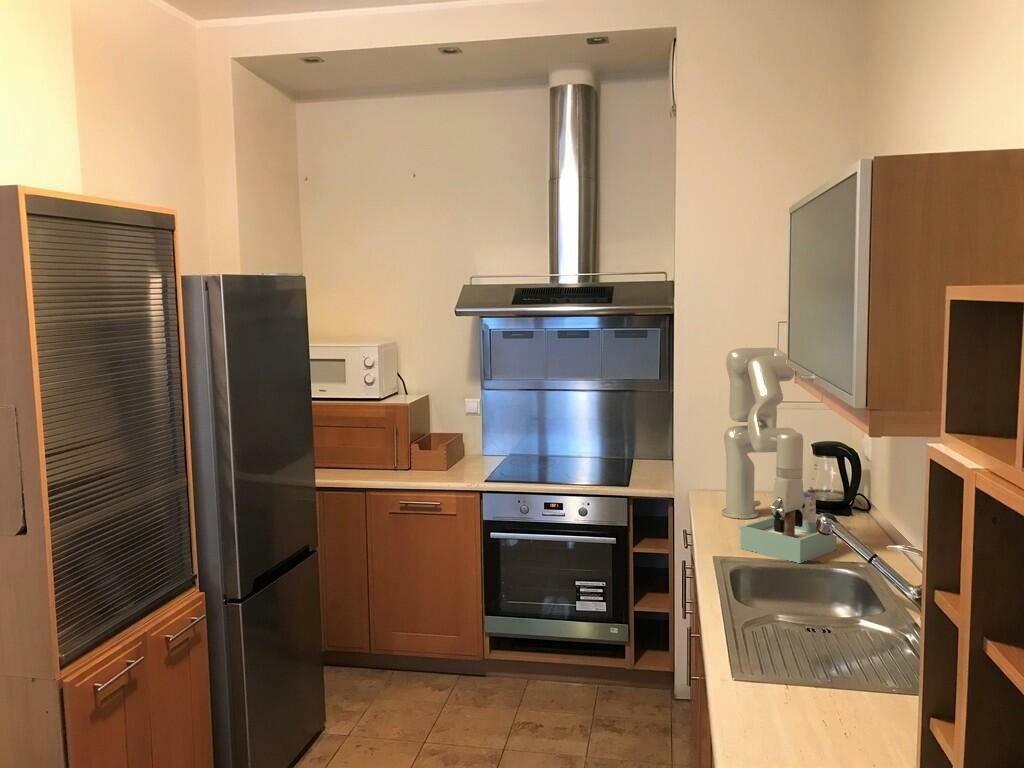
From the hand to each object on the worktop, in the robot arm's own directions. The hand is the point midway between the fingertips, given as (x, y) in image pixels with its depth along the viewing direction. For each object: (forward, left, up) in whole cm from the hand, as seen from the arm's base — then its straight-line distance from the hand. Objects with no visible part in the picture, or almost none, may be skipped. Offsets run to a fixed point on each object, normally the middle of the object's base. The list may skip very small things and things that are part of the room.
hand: (788, 528), depth 250 cm
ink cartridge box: (-20, -8, -7) cm, 23 cm away
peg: (0, 0, -6) cm, 6 cm away
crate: (0, 0, -6) cm, 6 cm away
